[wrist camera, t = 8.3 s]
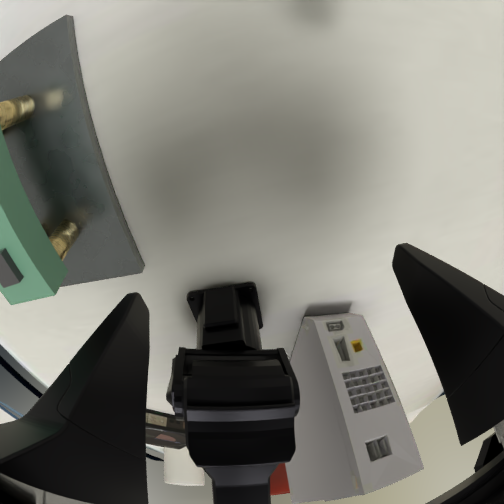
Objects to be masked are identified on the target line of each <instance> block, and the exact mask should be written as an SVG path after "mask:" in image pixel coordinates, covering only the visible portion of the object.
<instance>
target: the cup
mask: <svg viewBox="0 0 504 504" xmlns="http://www.w3.org/2000/svg"><path fill="white" fill-rule="evenodd" d="M164 482H165V483H169V484H176V485H190V486H191V485H192V486H200V485H204V484H205V483H204V469H203V468H202V467H197V466H196V465H195V463H194V462H193V460H192V459H191V457H190V455H189V451H188V449H187V447H184V448H182V449H173V448H167V447H165V448H164Z"/></svg>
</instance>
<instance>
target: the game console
mask: <svg viewBox="0 0 504 504" xmlns="http://www.w3.org/2000/svg"><path fill="white" fill-rule="evenodd" d="M290 364H291V366H292V369H293V371H294V373H295V376H296V378H297V381H298V384H299V390H300V408H299V412H298V414H297V416H296V417H294V430H295V443H296V451H295V453H294V455H293V457H292V459H291V461H290V462H288V463H285V466H286V471H287V477H288V483H289V489H290V495H291V500H292V504H296V503H301V502H310V501H319V500H325V501H330V500H336V499H341V498H347V497H352V496H357V495H365V494H368V493H370V492H373V491H376V490H378V489H381V488H383V487H386V486H388V485H391V484H393V483H395V482H398V481H399V480H402V479H404V478H406V477H408V476H410V475H413V474H415V473H416V472H419V471H420V470H422V469H424V467H423V464H422V461H421V458H420V455H419V451H418V449H417V445H416V443H415V440H414V437H413V434H412V431H411V428H410V426H409V423H408V420H407V417H406V415H405V412H404V409H403V407H402V404H401V402H400V399H399V396H398V394H397V391H396V389H395V387H394V384H393V382H392V379H391V377H390V375H389V372H388V370H387V367H386V365H385V363H384V361H383V358H382V356H381V354H380V351H379V349H378V347H377V345H376V343H375V340H374V338H373V336H372V334H371V332H370V330H369V327H368V325H367V323H366V321H365V319H364V317H363V315H358V314H353V313H342V314H332V315H321V316H308V317H304V318H303V321H302V325H301V328H300V331H299V334H298V337H297V341H296V344H295V347H294V350H293V353H292V356H291V359H290Z"/></svg>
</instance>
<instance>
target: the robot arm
mask: <svg viewBox="0 0 504 504" xmlns="http://www.w3.org/2000/svg"><path fill="white" fill-rule="evenodd" d="M392 267H393V270H394V273H395V275H396V278H397V280H398V283H399V285H400V288H401V290H402V293H403V295H404V298H405V300H406V303H407V305H408V307H409V309H410V311H411V313H412V316H413V318H414V320H415V322H416V324H417V326H418V328H419V330H420V333H421V335H422V337H423V339H424V342H425V344H426V346H427V349H428V351H429V353H430V356H431V358H432V361H433V363H434V366H435V368H436V371H437V373H438V376H439V378H440V381H441V384H442V387H443V389H444V392H445V395H446V398H447V401H448V404H449V407H450V410H451V414H452V416H453V420H454V423H455V427H456V430H457V434H458V437H459V441H460V444H461V446H462V445H464V444H466V443H467V442H469V441H471V440H473V439H474V438H476V437H478V436H479V435H481V434H483V433H485V432H486V431H488V430H489V429H491V428H492V427H493V428H494V430H495V432H494V433H493V434H492V435H491V436H489V437H488V438H487V439H485V440H484V441H483V445H482V448H481V450H480V453H479V456H478V459H477V462H476V464H475V467H474V469H475V473H474V474H473V475H472V476H470V477H469V478H467V479H466V480H464V481H463V482H462V483H460V484H458V485H457V486H455V487H454V488H452V489H451V490H449V491H447V492H445V493H444V494H442V495H440V496H439V497H437V498H435V499H433V500H431V501H430V502H428V503H426V504H504V295H502V294H500V293H498V292H497V291H495V290H493V289H491V288H490V287H488V286H486V285H485V284H483V283H481V282H480V281H478V280H476V279H474V278H473V277H471V276H469V275H467V274H466V273H464V272H462V271H460V270H458V269H456V268H455V267H453V266H451V265H449V264H447V263H445V262H443V261H442V260H440V259H438V258H436V257H434V256H432V255H430V254H428V253H426V252H424V251H422V250H420V249H418V248H416V247H414V246H412V245H410V244H408V243H403V244H398V245H397V246H396V248H395V252H394V257H393V262H392ZM249 288H251V289H249ZM191 297H193V298H191ZM187 301H188V303H189V306H190V308H191V310H192V313H193V315H194V317H195V319H196V322H197V349H186V348H184V347H179V352H178V355H176V357H175V358H174V359H173V362H172V373H171V379H170V382H169V386H168V389H167V393H166V399H167V401H168V402H169V403H170V404H171V405H172V406H173V411H174V412H175V417H176V420H178V421H185V437H186V447H187V449H188V451H189V455H190V457H191V459H192V460H193V462H194V463H195V465H196V466H197V467H202V468H203V469H204V470H205V472H206V473H207V474H208V475H209V477H210V478H211V479H212V491H213V503H214V504H271V498H270V476H271V475H272V473H273V472H274V471H275V469H276V468H277V466H278V465H279V464H280V463H288V462H290V461H291V459H292V457H293V455H294V453H295V451H296V443H295V430H294V417H296V416H297V414H298V412H299V408H300V390H299V384H298V381H297V378H296V376H295V373H294V371H293V369H292V366H291V364H290V362H289V359H288V357H287V355H286V352H285V350H284V348H277V349H268V350H262V345H261V339H260V333H259V329H261V328H262V327H263V323H262V317H261V312H260V306H259V301H258V295H257V289H256V285H255V284H254V283H245V284H239V285H233V286H227V287H221V288H215V289H209V290H202V291H196V292H190V293H188V294H187ZM149 349H150V346H149V310H148V308H147V306H146V304H145V302H144V301H143V299H142V297H141V295H140V294H139V293H137V292H135V293H129V294H127V295H126V296H125V297H124V298H123V299H122V300H121V301H120V303H119V304H118V305H117V306H116V307H115V308H114V309H113V311H112V312H111V313H110V314H109V315H108V316H107V317H106V319H105V320H104V321H103V322H102V323H101V325H100V326H99V327H98V328H97V329H96V330H95V332H94V333H93V334H92V335H91V336H90V338H89V339H88V340H87V341H86V342H85V344H84V345H83V346H82V347H81V349H80V350H79V351H78V352H77V354H76V355H75V356H74V357H73V359H72V360H71V361H70V363H69V364H68V365H67V366H66V368H65V369H64V370H63V371H62V373H61V374H60V375H59V376H58V378H57V379H56V380H55V381H54V383H53V384H52V385H51V386H50V387H49V388H48V390H47V391H46V392H45V393H44V394H43V395H42V397H41V398H40V399H39V400H38V401H37V402H36V404H35V405H34V406H33V407H32V408H31V409H30V411H29V412H28V413H27V414H26V415H25V416H23V417H22V418H20V419H18V420H15V421H12V422H8V423H4V424H0V504H148V493H147V475H146V400H147V381H148V366H149Z"/></svg>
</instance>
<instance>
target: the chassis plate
mask: <svg viewBox="0 0 504 504" xmlns="http://www.w3.org/2000/svg"><path fill="white" fill-rule="evenodd" d="M0 126H1V129H2V133H3V136H4V139H5V142H6V145H7V148H8V151H9V153H10V156H11V159H12V162H13V164H14V167H15V169H16V172H17V174H18V177H19V179H20V181H21V184H22V186H23V188H24V191H25V193H26V195H27V197H28V199H29V201H30V204H31V206H32V208H33V210H34V212H35V214H36V216H37V218H38V220H39V221H40V223H41V225H42V227H43V229H44V231H45V233H46V234H47V236H48V238H49V240H50V241H51V243H52V245H53V247H54V248H55V250H56V252H57V253H58V255H59V257H60V258H61V260H62V261H63V263H64V265H65V266H66V268H67V269H68V273H67V274H66V276H65V278H64V280H63V282H62V283H61V285H60V287H63V286H69V285H74V284H80V283H86V282H92V281H98V280H104V279H109V278H115V277H121V276H127V275H133V274H138V273H142V272H143V269H144V266H145V265H144V263H143V261H142V259H141V257H140V254H139V252H138V250H137V248H136V245H135V243H134V241H133V238H132V236H131V233H130V231H129V229H128V226H127V224H126V221H125V219H124V216H123V214H122V211H121V208H120V206H119V203H118V200H117V198H116V195H115V192H114V190H113V187H112V184H111V181H110V178H109V175H108V172H107V169H106V166H105V163H104V160H103V157H102V154H101V150H100V147H99V144H98V140H97V137H96V134H95V130H94V126H93V123H92V119H91V115H90V111H89V107H88V103H87V99H86V94H85V90H84V85H83V80H82V75H81V70H80V65H79V59H78V53H77V47H76V40H75V32H74V23H73V16H69V15H65V16H63V17H62V18H60V19H58V20H56V21H55V22H53V23H52V24H50V25H48V26H47V27H45V28H44V29H42V30H41V31H39V32H38V33H36V34H35V35H33V36H32V37H30V38H29V39H28V40H26V41H25V42H24V43H22V44H21V45H20V46H18V47H17V48H16V49H14V50H13V51H12V52H11V53H9V54H8V55H7V56H6V57H4V58H3V59H2V60H1V61H0Z"/></svg>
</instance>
